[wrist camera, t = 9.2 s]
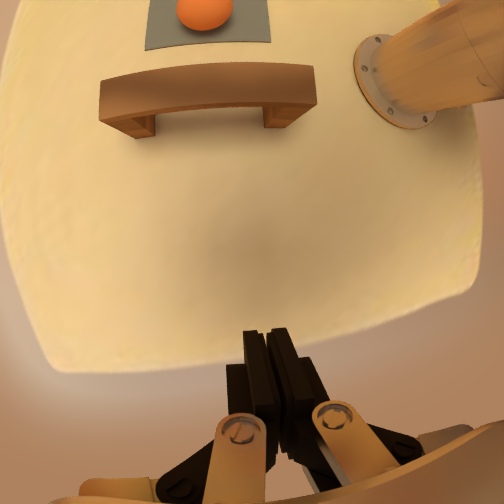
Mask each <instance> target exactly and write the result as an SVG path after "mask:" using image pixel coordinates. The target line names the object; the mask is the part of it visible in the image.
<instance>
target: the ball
mask: <svg viewBox="0 0 504 504" xmlns="http://www.w3.org/2000/svg"><path fill="white" fill-rule="evenodd" d="M232 9H233V2H232V0H178V3H177V7H176V12H177V16H178V18H179V20H180V21H181V22H182V23H183V24H184V25H185V26H187V27H189V28H191V29H194V30H201V31H203V30H211V29H214V28H217V27H218V26H220V25H222V24H223V23H224V22H226V20H227V19H228V18H229V17H230V15H231V13H232Z"/></svg>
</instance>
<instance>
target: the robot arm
mask: <svg viewBox="0 0 504 504" xmlns="http://www.w3.org/2000/svg"><path fill="white" fill-rule="evenodd" d="M354 67H355V74H356V77H357V81H358V83H359V85H360V88H361V90H362V92H363V94H364V95H365V97H366V98H367V100H368V101H369V103H370V104H371V105H372V106H373V108H374V109H375V110H376V111H377V112H378V113H379V114H380V115H381V116H382V117H384V118H385V119H386V120H388V121H389V122H391V123H393V124H395V125H396V126H399V127H402V128H405V129H416V128H421V127H424V126H427V125H428V124H429V123H431V122H432V120H433V119H434V118H435V116H436V113H437V111H438V110H442V109H447V108H452V107H459V108H461V109H464V108H465V107H466V106H467V105H468V104H474V103H480V102H486V101H492V100H499V99H504V0H453V1H451V2H449V3H448V4H446V5H444V6H442V7H440V8H439V9H437V10H435V11H433V12H432V13H430V14H428V15H426V16H425V17H423V18H421V19H420V20H418V21H417V22H415V23H413V24H412V25H410V26H408V27H407V28H405V29H404V30H402V31H401V32H399V33H398V34H396V35H395V36H390V35H386V34H378V35H373V36H371V37H369V38H367V39H366V40H364V41H363V42H362V43H361V44H360V45H359V47H358V48H357V51H356V54H355V59H354ZM243 343H244V362H245V364H230V365H226V375H227V395H228V413H229V416H227V417H225V418H223V419H222V420H221V421H220V422H219V424H218V426H217V428H216V433H215V439H214V440H212V441H211V442H210V443H208V444H207V445H206V446H204V447H203V448H202V449H200V450H199V451H198V452H196V453H195V454H193V455H192V456H191V457H189V458H188V459H186V460H185V461H184V462H182V463H181V464H179V465H178V466H176V467H175V468H173V469H172V470H170V471H169V472H167V473H166V474H164V475H163V476H162V477H161V478H160V479H149V477H144V478H118V479H104V478H94V479H89V480H87V481H85V482H83V484H82V485H81V486H80V489H79V496H74V497H65V498H61V499H57V500H54V501H51V502H50V503H48V504H504V420H500V421H496V422H492V423H488V424H485V425H483V426H480V427H478V428H476V429H473V428H472V427H470V426H469V425H465V424H460V425H456V426H452V427H449V428H445V429H441V430H438V431H434V432H430V433H425V434H421V435H419V436H418V438H414V437H411V436H409V435H404V434H401V433H397V432H393V431H390V430H386V429H384V428H380V427H377V426H374V425H371V424H367V423H366V422H365V421H364V420H363V418H362V417H361V416H360V414H359V413H358V412H357V411H356V409H354V407H352V406H351V405H350V404H348V403H346V402H343V401H338V400H337V401H336V400H333V401H332V400H331V401H330V399H329V397H328V395H327V392H326V390H325V388H324V386H323V384H322V382H321V380H320V377H319V375H318V373H317V371H316V369H315V367H314V365H313V363H312V361H311V359H310V357H302V358H299V357H298V355H297V353H296V350H295V348H294V345H293V343H292V340H291V338H290V336H289V333H288V331H287V329H286V328H275V329H272V330H271V332H270V333H267V336H266V343H265V339H264V336H263V333H259V334H258V332H257V330H251V331H243ZM278 444H280V448H281V452H282V453H286V452H287V454H288V458H289V460H290V459H294V461H295V462H297V463H299V464H301V465H302V468H303V471H304V473H305V475H306V477H307V479H308V481H309V483H310V485H311V487H312V489H313V491H314V492H315V494H312V495H307V496H302V497H297V498H291V499H286V500H278V501H271V502H265V475H266V473H267V472H268V471H269V470H270V469H271V467H273V466H274V465H275V461H276V454H277V453H278Z"/></svg>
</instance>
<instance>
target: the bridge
mask: <svg viewBox="0 0 504 504" xmlns="http://www.w3.org/2000/svg"><path fill="white" fill-rule="evenodd" d="M316 105H317V96H316V86H315V77H314V68H313V66H309V65H299V64H286V63H264V62H230V63H209V64H196V65H185V66H176V67H169V68H162V69H155V70H149V71H143V72H138V73H133V74H128V75H123V76H119V77H114V78H110V79H106V80H102V81H101V84H100V99H99V121H101V122H103V123H105V124H107V125H109V126H111V127H113V128H115V129H117V130H119V131H121V132H123V133H125V134H127V135H129V136H131V137H133V138H135V139H138V138H144V137H151V136H155V114H161V113H169V112H177V111H186V110H197V109H210V108H227V107H263V113H264V128H285V127H287V126H288V125H289V124H291V123H292V122H293V121H295V120H296V119H297V118H299V117H300V116H302V115H303V114H304V113H306V112H307V111H309V110H310V109H311V108H313V107H314V106H316Z"/></svg>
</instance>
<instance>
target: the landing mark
mask: <svg viewBox="0 0 504 504" xmlns="http://www.w3.org/2000/svg"><path fill="white" fill-rule="evenodd" d="M232 2H233V9H232V13H231V15H230V17H229V18H228V19H227V20H226V22H224V23H223V24H222V25H220V26H218V27H217V28H214V29H211V30H203V31H201V30H194V29H191V28H189V27H187V26H185V25H184V24H183V23H182V22H181V21H180V20H179V18H178V16H177V12H176V7H177V3H178V0H150V6H149V13H148V21H147V30H146V40H145V51H146V50H152V49H158V48H164V47H172V46H180V45H189V44H200V43H216V42H270V43H271V36H270V26H269V16H268V6H267V0H232Z"/></svg>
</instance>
